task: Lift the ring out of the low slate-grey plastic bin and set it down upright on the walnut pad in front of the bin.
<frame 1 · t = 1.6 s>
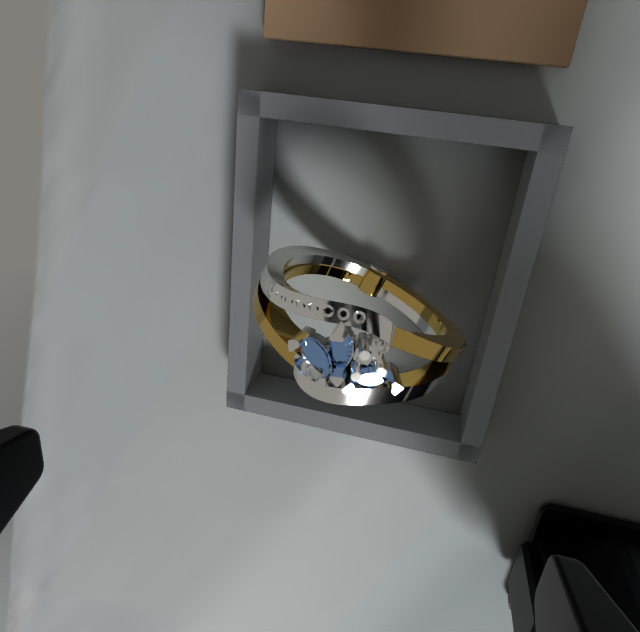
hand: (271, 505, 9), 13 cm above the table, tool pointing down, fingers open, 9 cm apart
ring: (375, 274, 20), resting in bin
bin: (374, 276, 20), on the table
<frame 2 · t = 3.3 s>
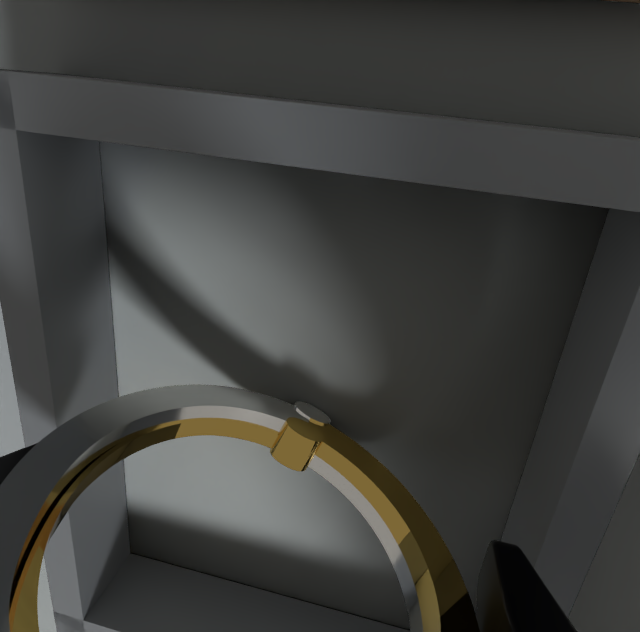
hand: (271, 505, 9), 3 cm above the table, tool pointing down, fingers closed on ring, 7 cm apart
ring: (309, 415, 11), resting in bin, touching gripper
bin: (306, 421, 11), on the table
when the fingers open (4 cm above the table, at t = 8.5 s): ring stays where it is, resting on pad.
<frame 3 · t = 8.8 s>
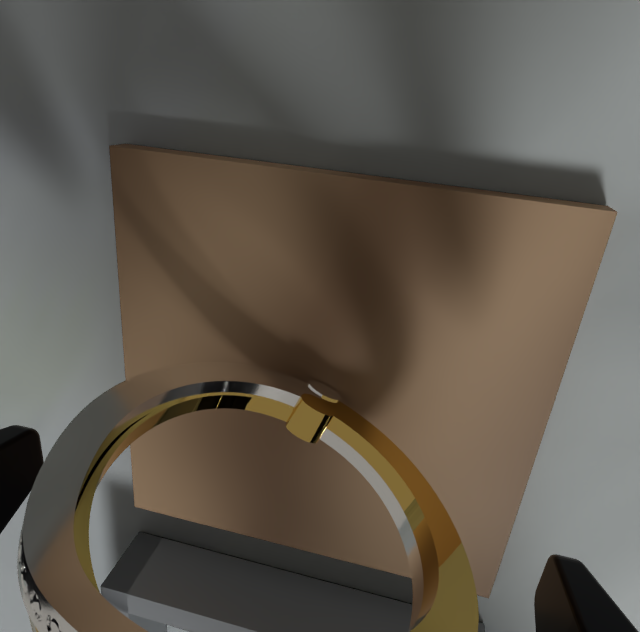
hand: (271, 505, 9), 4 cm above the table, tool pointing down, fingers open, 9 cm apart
ring: (320, 394, 12), resting on pad
pad: (323, 382, 12), on the table
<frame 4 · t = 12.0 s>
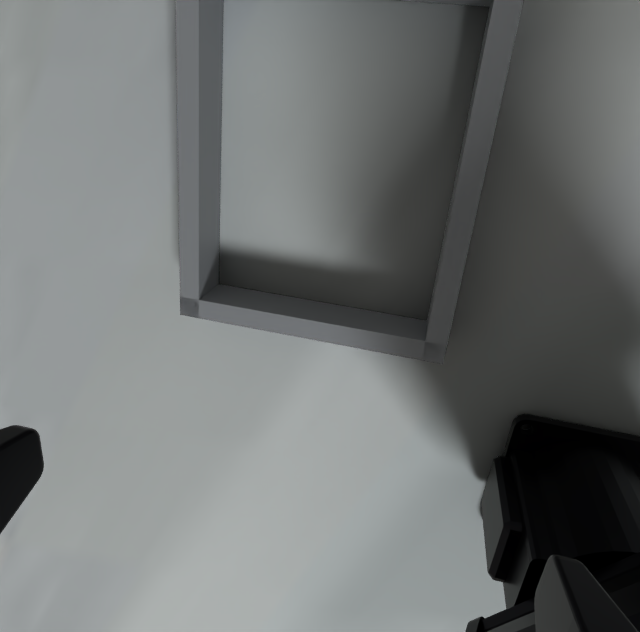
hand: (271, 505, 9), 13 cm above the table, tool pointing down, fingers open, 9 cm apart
bin: (333, 166, 19), on the table
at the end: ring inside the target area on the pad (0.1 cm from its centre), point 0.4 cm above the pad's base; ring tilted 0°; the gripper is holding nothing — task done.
